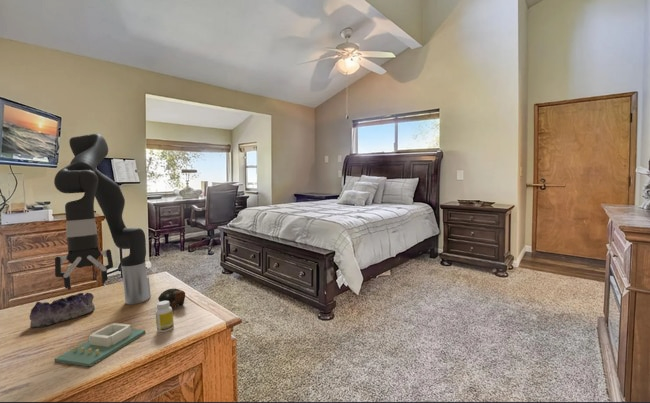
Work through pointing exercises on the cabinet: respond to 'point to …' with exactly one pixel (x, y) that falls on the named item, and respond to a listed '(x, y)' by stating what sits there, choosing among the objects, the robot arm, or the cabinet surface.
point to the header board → (101, 344)
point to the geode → (61, 310)
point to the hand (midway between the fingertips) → (87, 285)
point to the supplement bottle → (164, 316)
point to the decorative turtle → (173, 297)
